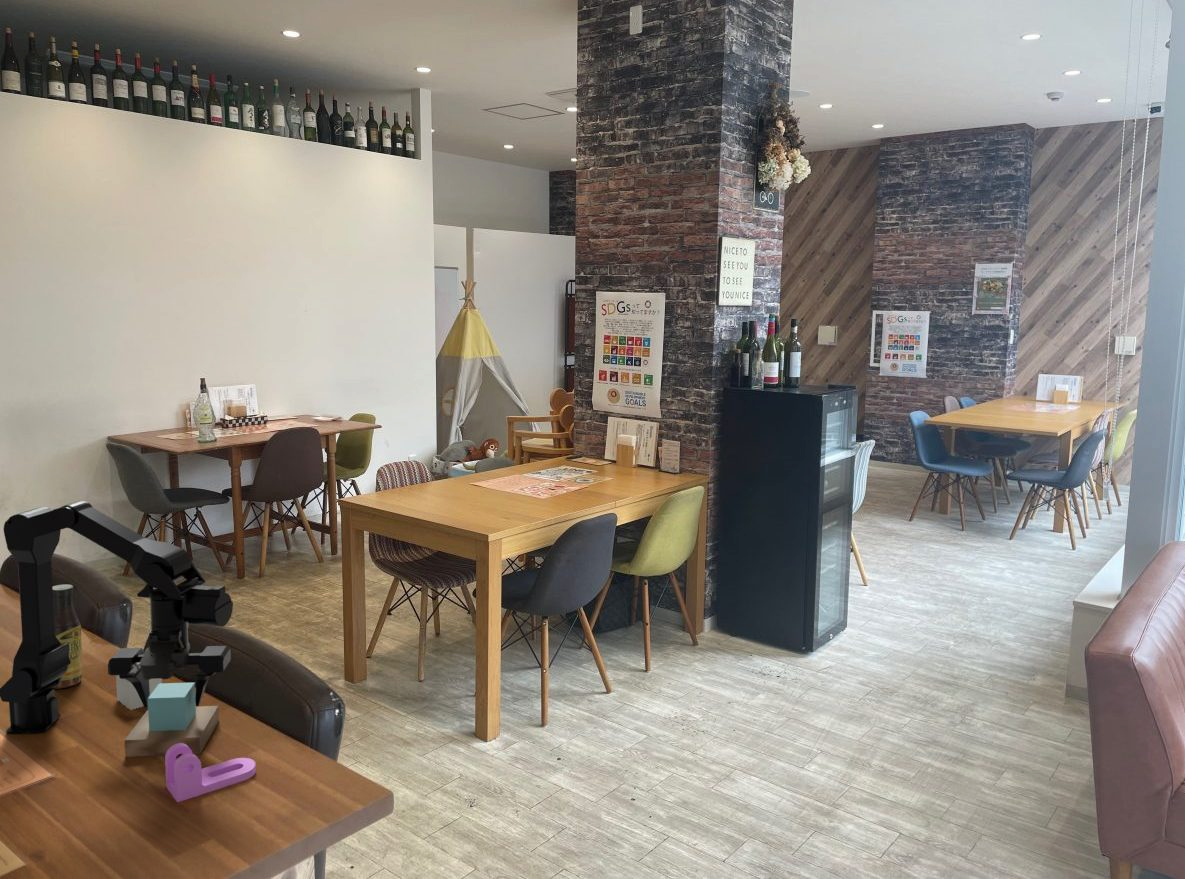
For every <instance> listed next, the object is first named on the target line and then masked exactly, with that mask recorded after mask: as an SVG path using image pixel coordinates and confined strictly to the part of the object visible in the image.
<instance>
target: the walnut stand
mask: <svg viewBox="0 0 1185 879" xmlns="http://www.w3.org/2000/svg"><path fill="white" fill-rule="evenodd" d="M219 710H220V708H219V705H205V706H202V705H201V706H200V705H199V706H196V715H195V716H194V718H193V719H192V721H191V723H190V724H189V726H188V727H187V729H186V730H168V731H149V718H148V709H147V710H146V711H145V713H144V714H143V715H142V716H141V718H140V719H139V721H138V722H137V723H136V724H135V725H134V727H133V728H132V730H131V731H130V732H129V734H128V735H127V736H126V737H125V739H124V753H125V757H127V758H130V757H132V758H133V757H151V756H153V757H154V756H165V755H166V752H167V750H168V749H169V748H170V747H171V746H173V745H175V744H177V743H184V744H186V745H187V746H188V747H189V748H190V749H191V751H192V754H194V755H199V754H202V751H203V749H204V748H205V747H206V745H207V743H208V741H209V739H210V738H211V736H212V734H213V733H214V730H215V729H216V727H217V725H218V724H219V722H220V719H219V718H220V717H219V715H220V714H219ZM180 756H181V754H180Z"/></svg>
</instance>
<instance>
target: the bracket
mask: <svg viewBox="0 0 1185 879" xmlns="http://www.w3.org/2000/svg"><path fill="white" fill-rule="evenodd" d="M179 754H182V755H180V756H179ZM177 756H179V757H178V758H177ZM164 761H165V762H164V763H165V787H166V789H167V790H168V792H169V793H170V794H171V796H172V797H173V798H174V800H175V801H176V802H177V803H180V802H183V801H186V800H188V799H192V798H195V797H198V796H202V795H204V794H206V793H207V794H208V793H211V792H214V791H216V790H219V789H220V790H221V789H222V788H225V787H229V786H232V785H235V784H238V783H241V782H243V781H247V780H249V779H250V777H251V778H252V777H254V775H255V774H256V772H257V771H256V769H257V766H256V761H255V760H254V759H251V758H248V757H237V758H232V759H229V760H226V761H222V762H220V763H219V762H218V763H217V764H213V765H209V766H207V767H203V768H202V762H201V760H200V759H199V758H198V756H197V754H192V751H191V749H190V748H189V747H188V746H187V745H186V744H184V743H177V744H175V745H173V746H171V747H170V748H169V749H168V750H167V752H166V755H164ZM248 778H249V779H248ZM246 779H247V780H246ZM228 785H229V786H228Z"/></svg>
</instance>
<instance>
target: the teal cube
mask: <svg viewBox="0 0 1185 879" xmlns="http://www.w3.org/2000/svg"><path fill="white" fill-rule="evenodd" d="M195 697H196V682H170V683H169V682H168V683H166V682H164V683H163V682H162V683H160V684H158V686H157V687H156V688H155V690H154V691H153V692H152V693H151V695H150V696H149V697H148V708H147V710H148V718H149V731H168V730H186V729H187V727H188V726H189V724H190V723H191V721H192V719H193V718H194V716H195V715H196V707H197V706H196V701H195Z"/></svg>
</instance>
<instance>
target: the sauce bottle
mask: <svg viewBox="0 0 1185 879" xmlns="http://www.w3.org/2000/svg"><path fill="white" fill-rule="evenodd" d="M52 587H53V608H54V628H55V636H56V637H57V638H58V640H59V641H60V642H61V643H62V644H65V643H68V644H69V647H70V648H69V659H70V661H71V664H69V665H68V669H67V671H66V673H65V674H64V675H63V676H62V678H61V681H60V683H59V684H58V685H55V686H53V687H52V688H54V689H64V688H70V687H72V686H73V687H74V686H76V685H78V684H79V683H80V682H81V681H82V678H83V676H82V674H83V654H82V653H83V652H82V651H83V650H82V649H83V648H82V646H83V645H82V625H81V623H80V620H79V617H78V616H77V613H76V611H75V608H74V600H73V599H74V598H73V597H74V596H73V595H74V586H73V585H72V584H57V585H54V586H53V585H52Z"/></svg>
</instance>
